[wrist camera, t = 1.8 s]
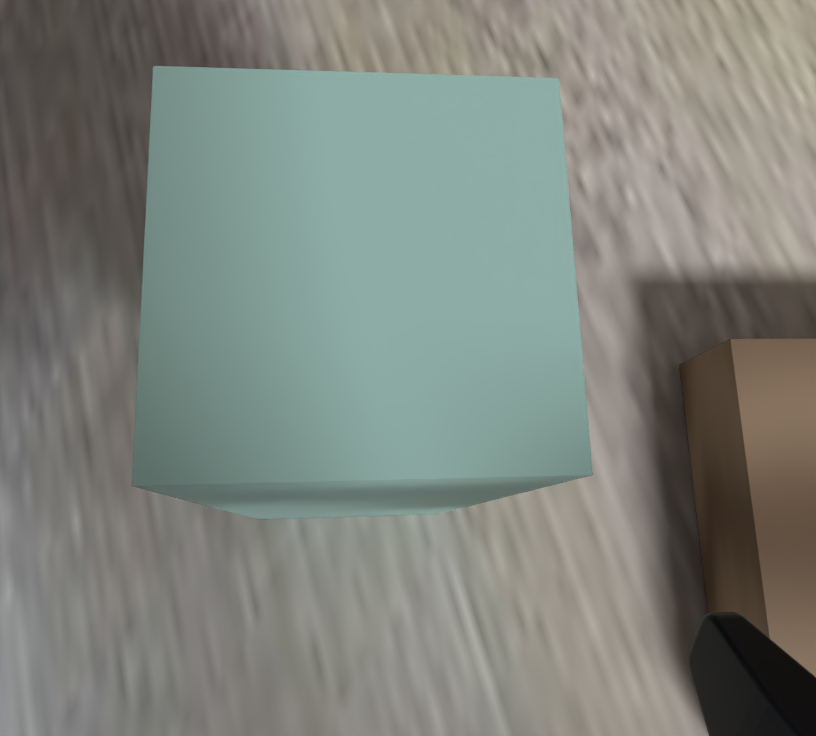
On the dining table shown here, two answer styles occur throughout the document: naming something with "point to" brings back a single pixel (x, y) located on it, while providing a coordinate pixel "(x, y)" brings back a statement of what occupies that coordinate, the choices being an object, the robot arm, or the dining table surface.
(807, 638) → the walnut base
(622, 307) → the dining table surface
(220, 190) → the pillar
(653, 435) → the dining table surface
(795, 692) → the robot arm
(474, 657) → the dining table surface
